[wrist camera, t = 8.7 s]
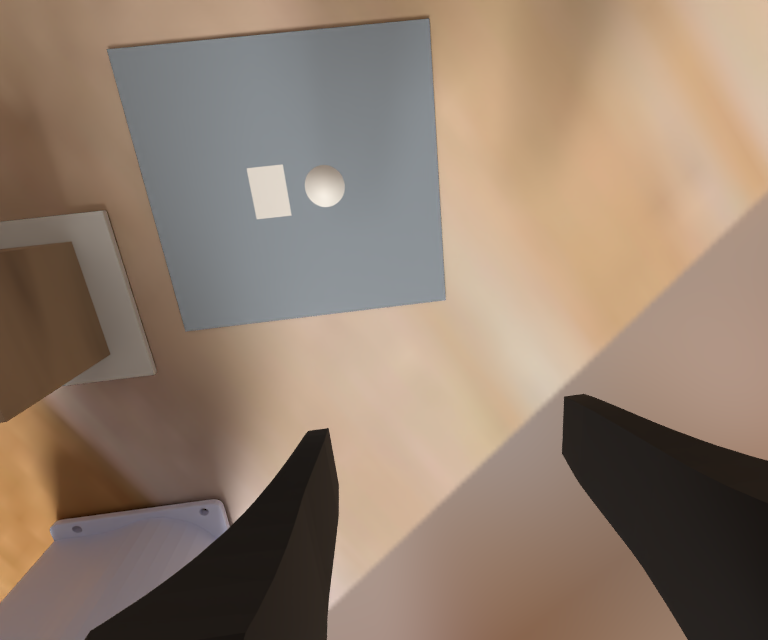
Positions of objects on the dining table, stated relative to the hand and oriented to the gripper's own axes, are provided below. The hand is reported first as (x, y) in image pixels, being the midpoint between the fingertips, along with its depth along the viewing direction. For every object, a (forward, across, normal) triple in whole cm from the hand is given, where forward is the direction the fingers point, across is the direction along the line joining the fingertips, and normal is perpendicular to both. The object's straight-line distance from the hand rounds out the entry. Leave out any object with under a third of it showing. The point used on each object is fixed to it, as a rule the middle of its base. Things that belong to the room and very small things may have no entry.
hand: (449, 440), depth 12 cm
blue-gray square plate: (+9, +4, -8) cm, 13 cm away
